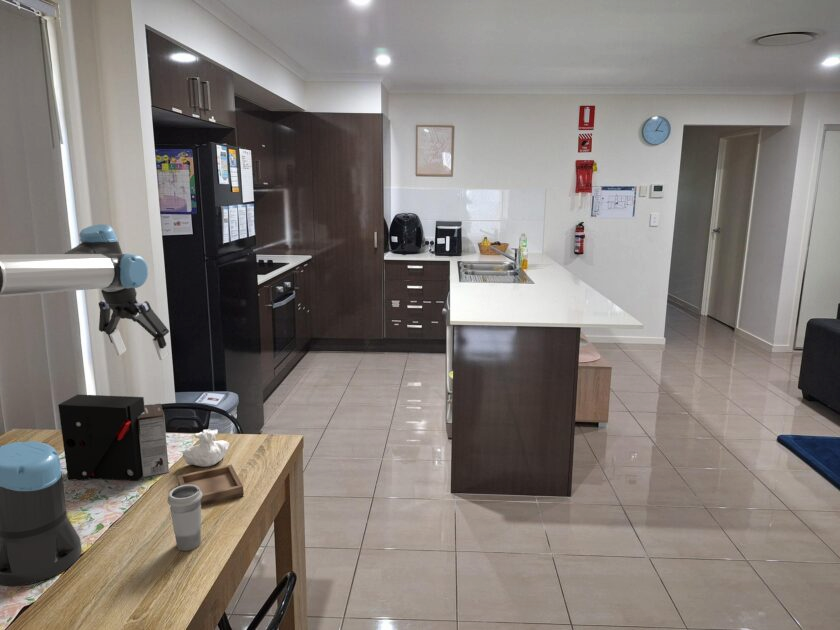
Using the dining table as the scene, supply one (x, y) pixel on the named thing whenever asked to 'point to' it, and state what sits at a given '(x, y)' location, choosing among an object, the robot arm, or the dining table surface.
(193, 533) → the cup
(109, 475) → the electrical component
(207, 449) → the white lumpy piece
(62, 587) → the dining table surface
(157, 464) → the coffee box
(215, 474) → the tray
